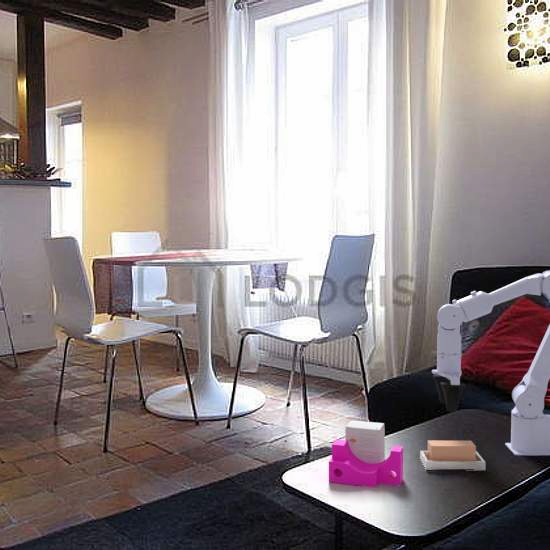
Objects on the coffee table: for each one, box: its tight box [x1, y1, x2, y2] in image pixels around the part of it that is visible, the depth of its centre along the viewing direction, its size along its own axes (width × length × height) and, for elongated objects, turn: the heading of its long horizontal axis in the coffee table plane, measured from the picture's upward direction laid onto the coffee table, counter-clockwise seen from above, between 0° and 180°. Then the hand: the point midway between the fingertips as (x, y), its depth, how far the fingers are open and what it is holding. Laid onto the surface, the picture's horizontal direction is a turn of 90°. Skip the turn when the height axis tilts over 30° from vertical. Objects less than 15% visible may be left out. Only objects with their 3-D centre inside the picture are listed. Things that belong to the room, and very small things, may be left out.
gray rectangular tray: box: [419, 450, 486, 471], centre depth 147 cm, size 13×7×2 cm, turn 88°
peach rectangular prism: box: [427, 439, 477, 461], centre depth 147 cm, size 4×10×5 cm, turn 88°
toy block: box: [328, 438, 404, 488], centre depth 140 cm, size 15×6×8 cm, turn 70°
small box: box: [345, 420, 386, 464], centre depth 145 cm, size 8×6×10 cm
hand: (448, 407), depth 160 cm, fingers open, 7 cm apart
